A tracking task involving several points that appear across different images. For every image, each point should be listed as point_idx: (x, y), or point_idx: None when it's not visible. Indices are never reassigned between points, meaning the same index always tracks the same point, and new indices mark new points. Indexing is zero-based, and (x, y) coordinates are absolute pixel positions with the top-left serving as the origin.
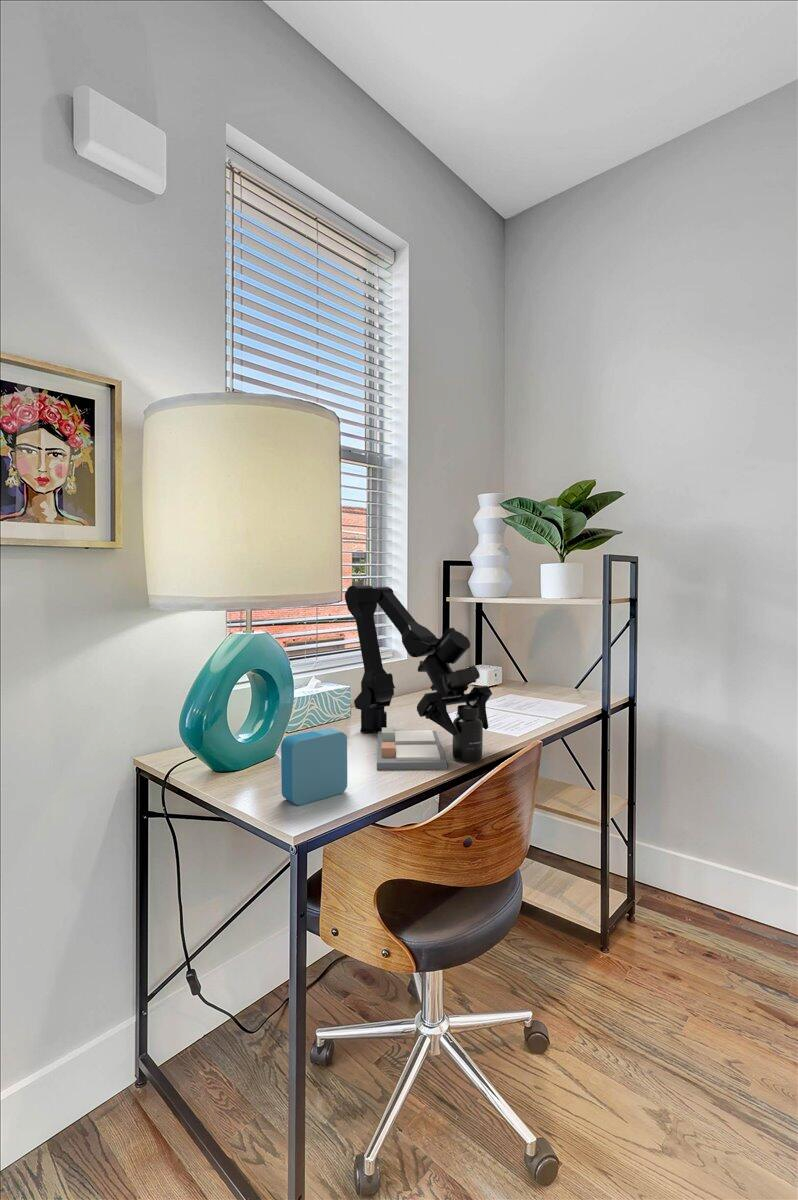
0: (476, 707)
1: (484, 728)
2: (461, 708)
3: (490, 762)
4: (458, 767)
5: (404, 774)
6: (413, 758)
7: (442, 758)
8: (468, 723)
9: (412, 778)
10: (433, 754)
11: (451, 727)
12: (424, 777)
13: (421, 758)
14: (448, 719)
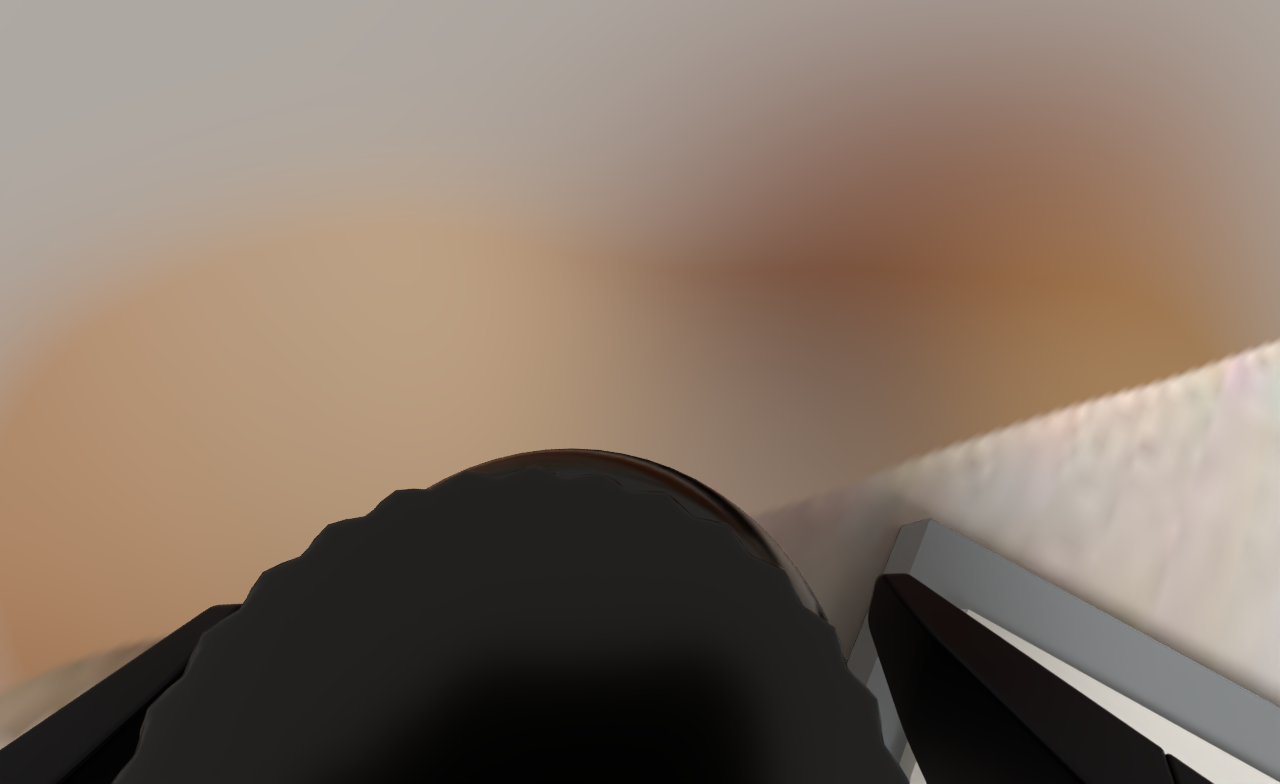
0: (331, 594)
1: None
2: (896, 770)
3: None
4: (792, 511)
5: (1260, 597)
6: (1214, 752)
7: None
8: (720, 505)
9: (1221, 485)
10: None
11: (994, 644)
12: (1130, 457)
13: (1137, 706)
14: (1135, 757)
